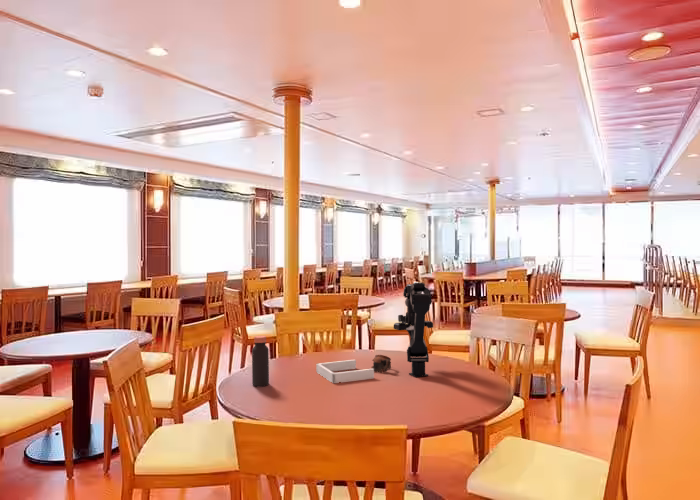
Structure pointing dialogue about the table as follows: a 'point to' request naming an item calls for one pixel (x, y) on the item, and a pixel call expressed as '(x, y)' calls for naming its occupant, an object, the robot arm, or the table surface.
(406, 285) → the robot arm
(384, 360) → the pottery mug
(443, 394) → the table surface
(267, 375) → the bottle
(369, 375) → the frame
